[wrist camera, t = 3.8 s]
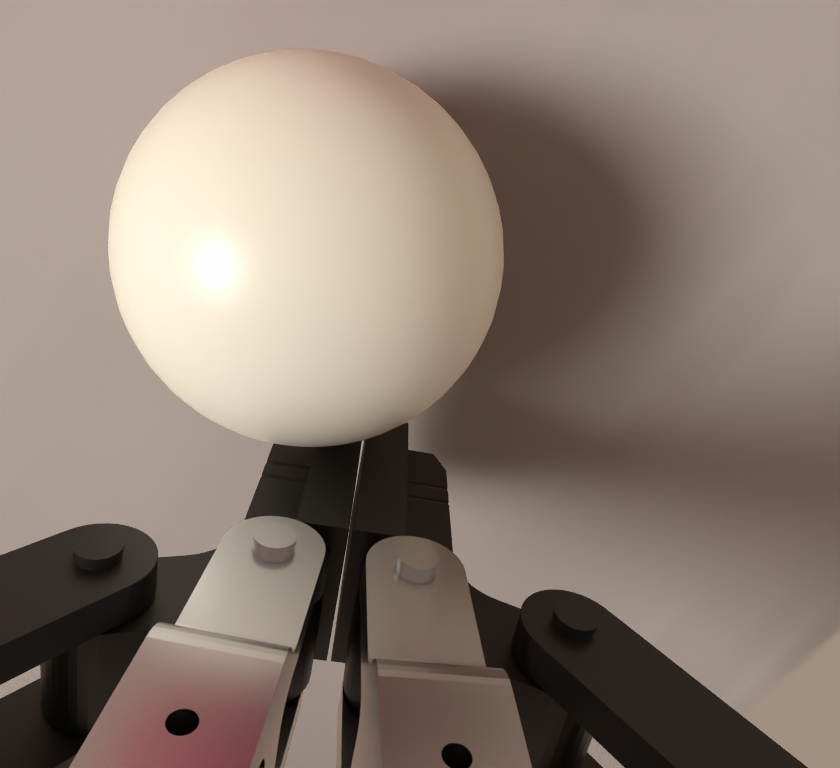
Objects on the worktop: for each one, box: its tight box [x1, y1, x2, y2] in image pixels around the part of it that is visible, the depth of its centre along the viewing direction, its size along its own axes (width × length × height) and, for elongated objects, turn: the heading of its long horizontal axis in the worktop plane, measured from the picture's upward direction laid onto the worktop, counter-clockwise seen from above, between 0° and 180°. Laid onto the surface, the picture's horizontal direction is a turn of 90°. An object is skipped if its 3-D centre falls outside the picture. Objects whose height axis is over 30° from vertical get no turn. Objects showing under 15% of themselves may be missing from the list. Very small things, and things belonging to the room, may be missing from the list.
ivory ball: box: [108, 49, 504, 447], centre depth 11 cm, size 6×6×6 cm
